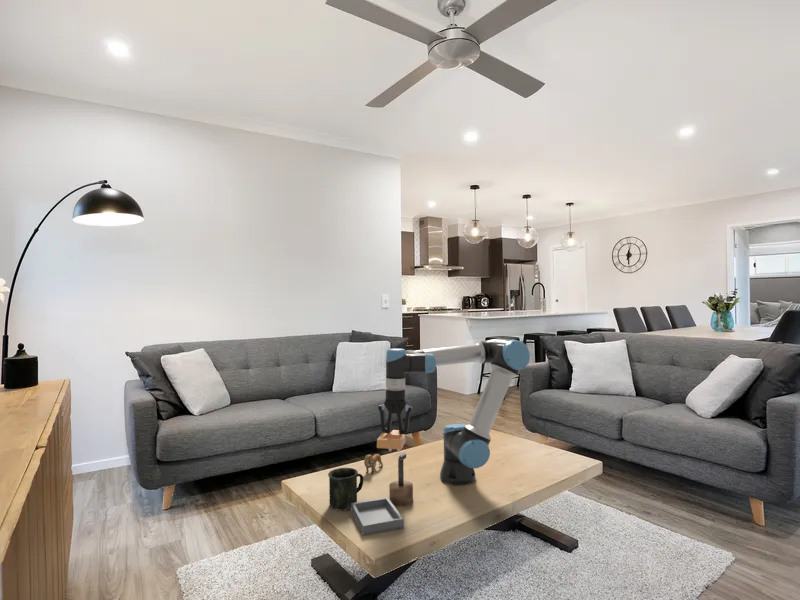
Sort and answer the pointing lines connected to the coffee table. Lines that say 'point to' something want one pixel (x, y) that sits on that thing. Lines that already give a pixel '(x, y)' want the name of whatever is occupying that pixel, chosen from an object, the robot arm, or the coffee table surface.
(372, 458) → the lion figurine
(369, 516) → the tray
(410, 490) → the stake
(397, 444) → the orange square frame paddle
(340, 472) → the mug
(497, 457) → the coffee table surface
